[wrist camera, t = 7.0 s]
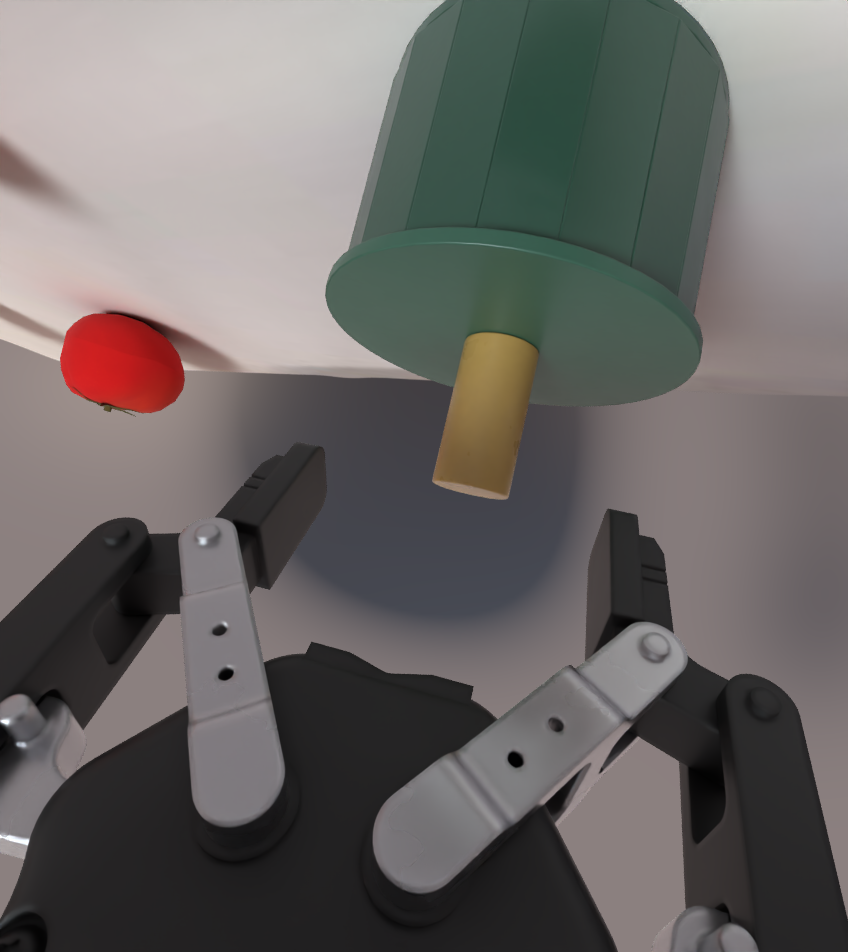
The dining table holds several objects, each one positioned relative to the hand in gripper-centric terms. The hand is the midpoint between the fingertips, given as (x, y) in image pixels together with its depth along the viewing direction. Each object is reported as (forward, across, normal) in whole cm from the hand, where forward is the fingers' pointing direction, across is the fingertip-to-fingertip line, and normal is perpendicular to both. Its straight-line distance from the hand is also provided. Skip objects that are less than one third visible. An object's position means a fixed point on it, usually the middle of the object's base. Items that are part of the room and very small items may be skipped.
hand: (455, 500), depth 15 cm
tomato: (+39, +44, +17) cm, 61 cm away
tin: (+14, 0, -8) cm, 16 cm away
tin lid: (+8, 0, -2) cm, 8 cm away
